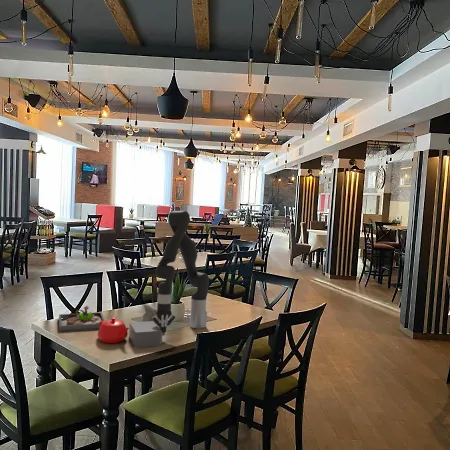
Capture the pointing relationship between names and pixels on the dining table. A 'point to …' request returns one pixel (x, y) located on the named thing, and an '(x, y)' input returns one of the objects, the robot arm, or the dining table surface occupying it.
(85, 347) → the dining table surface
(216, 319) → the dining table surface
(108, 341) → the teapot
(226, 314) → the dining table surface
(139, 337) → the housing
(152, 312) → the grey tissue
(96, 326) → the rectangular frame
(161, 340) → the grey drawer box
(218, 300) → the dining table surface
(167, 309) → the robot arm
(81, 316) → the miniature garden
